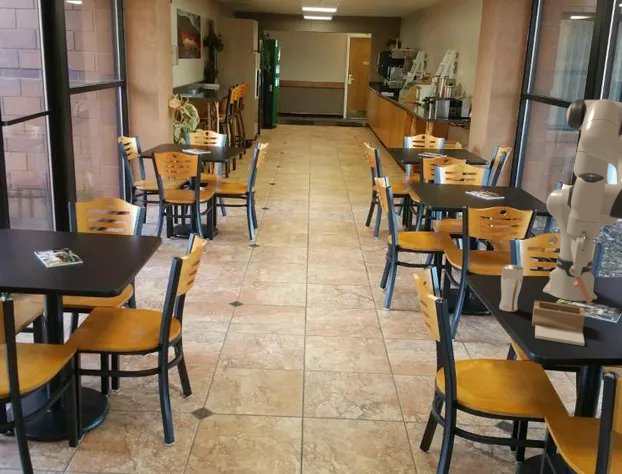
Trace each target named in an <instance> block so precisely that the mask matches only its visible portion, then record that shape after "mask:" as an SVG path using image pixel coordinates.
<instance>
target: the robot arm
mask: <svg viewBox="0 0 622 474" xmlns="http://www.w3.org/2000/svg"><path fill="white" fill-rule="evenodd" d="M565 116H566V122H567V125H568V127H569V128H570V129H572V130H575V131H580V136H579V137H580V138H579V141H578V144H577V149H576V154H575V158H574V159H575V160H574V163H573V165H574V166H573V173H574V175H575V177H576V180H575V182H574V184H573V185H571V186H569V188H568V189H567V188H562V189H554V190H553V191H552V192H551V193H550V194H549V195H548V197H547V199H546V209H547V211H548V213H549V214H550V215H551V216H552V217H553V219H554V220H555V221H556V224H557V226H558V228H559V231H560V233H559V234H560V248H559V255H558V256H557V259H556V267H555V269H553V270H552V271H550V272H549V275H548V278H549V280H548V282H547V284H546V285H545V286H544V288H543V290H542V292H543V293H545V294H548V295H551V296H553V297H555V298H557V299H558V298H559V299H562V300H566V301H573V302H586V299H585V297H584V295H583V293H582V291H581V289H580V286H578V287H575V286H574V282H575V281H577V280H576V278H575V277H580V276H581V277H582V279H583V281H584V283H585V285H586V288H587V290H588V292H589V294H590V296H591V299H592V301H593V300H597V299H598V295H596V293H595V292H594V284H595V276H594V275H593V274H592V272H591V271H592V268H593V260H592V257H593V252H594V246H595V242H594V239H595V238H598V237H599V234H600V228H601V226H613V225H615V223H617V222H618V221H619V219H620V220H622V139H621V136H622V102H620V101H615V100H610V99H607V98H601V99H583V98H580V99H579V98H578V99H575V100H573V101H572V102H571V104H570V105H569V107H568V108H567V111H566V115H565ZM609 164H610V165H611V166H613V167H614V168H615V171H616V183H615V184H613V183H609V182H608V169H609ZM573 265H575V270H574V273H573V271H572V269H571V266H573Z"/></svg>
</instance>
